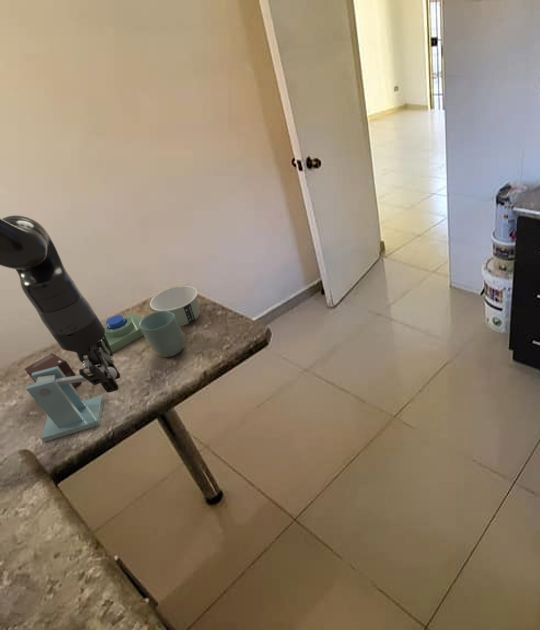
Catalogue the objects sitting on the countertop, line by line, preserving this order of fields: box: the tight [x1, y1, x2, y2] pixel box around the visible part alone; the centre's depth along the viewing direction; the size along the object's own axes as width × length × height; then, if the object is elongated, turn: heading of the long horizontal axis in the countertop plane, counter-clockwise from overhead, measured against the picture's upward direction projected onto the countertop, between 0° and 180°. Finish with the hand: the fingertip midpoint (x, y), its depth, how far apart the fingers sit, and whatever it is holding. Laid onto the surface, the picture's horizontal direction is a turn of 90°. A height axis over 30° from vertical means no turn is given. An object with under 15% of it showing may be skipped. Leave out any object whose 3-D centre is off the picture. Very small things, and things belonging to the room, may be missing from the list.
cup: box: [139, 311, 186, 358], centre depth 107 cm, size 8×8×10 cm
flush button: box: [105, 314, 126, 329], centre depth 113 cm, size 4×4×2 cm
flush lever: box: [35, 367, 117, 385], centre depth 88 cm, size 13×3×3 cm, turn 115°
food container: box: [149, 285, 201, 327], centre depth 120 cm, size 12×12×6 cm
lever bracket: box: [25, 366, 105, 443], centre depth 89 cm, size 10×8×13 cm
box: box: [24, 352, 82, 389], centre depth 99 cm, size 6×6×7 cm
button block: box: [102, 312, 144, 353], centre depth 114 cm, size 12×9×4 cm
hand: (114, 384), depth 92 cm, fingers closed on flush lever, 3 cm apart
